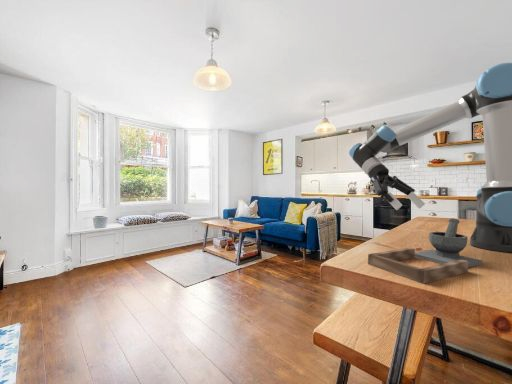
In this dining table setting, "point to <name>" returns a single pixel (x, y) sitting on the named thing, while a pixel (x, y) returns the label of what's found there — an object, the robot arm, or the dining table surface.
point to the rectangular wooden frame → (424, 275)
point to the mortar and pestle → (448, 241)
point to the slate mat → (445, 258)
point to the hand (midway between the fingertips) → (411, 207)
